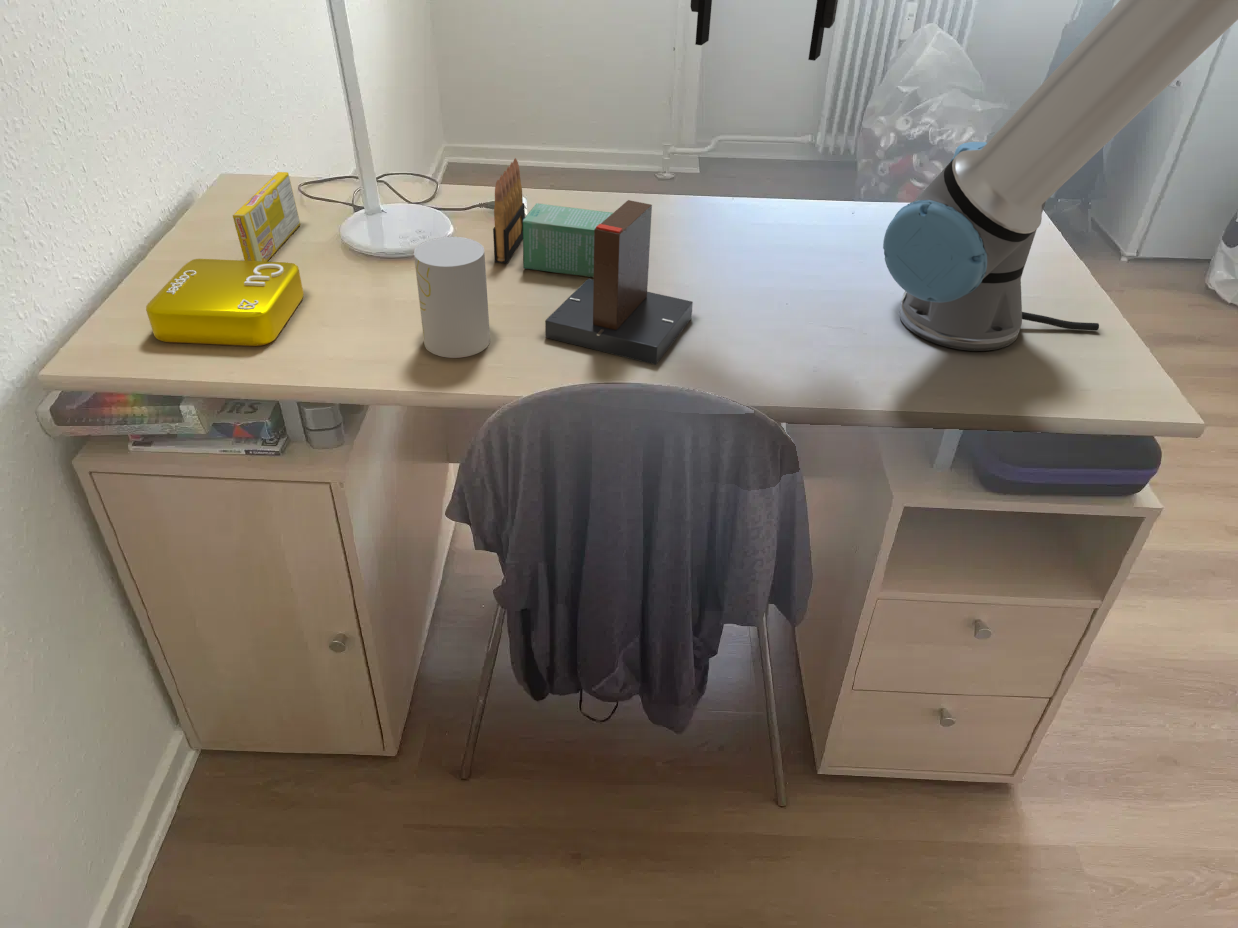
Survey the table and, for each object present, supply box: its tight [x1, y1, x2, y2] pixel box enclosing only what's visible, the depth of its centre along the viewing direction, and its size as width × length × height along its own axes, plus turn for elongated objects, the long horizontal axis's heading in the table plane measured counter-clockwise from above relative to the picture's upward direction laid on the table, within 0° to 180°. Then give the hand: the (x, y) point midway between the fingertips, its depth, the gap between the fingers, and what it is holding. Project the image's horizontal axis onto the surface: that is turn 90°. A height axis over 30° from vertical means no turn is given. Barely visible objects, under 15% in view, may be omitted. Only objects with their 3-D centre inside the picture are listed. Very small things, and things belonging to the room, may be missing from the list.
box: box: [522, 202, 614, 278], centre depth 131 cm, size 7×14×8 cm, turn 79°
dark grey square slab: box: [544, 278, 694, 366], centre depth 118 cm, size 15×14×3 cm
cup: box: [413, 236, 491, 359], centre depth 111 cm, size 8×8×12 cm
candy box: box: [232, 171, 301, 262], centre depth 132 cm, size 16×2×8 cm, turn 175°
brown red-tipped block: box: [593, 199, 653, 330], centre depth 113 cm, size 10×3×13 cm, turn 156°
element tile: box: [145, 258, 305, 347], centre depth 117 cm, size 15×15×5 cm
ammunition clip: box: [492, 157, 526, 264], centre depth 133 cm, size 11×2×12 cm, turn 170°
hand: (757, 50), depth 107 cm, fingers open, 13 cm apart
